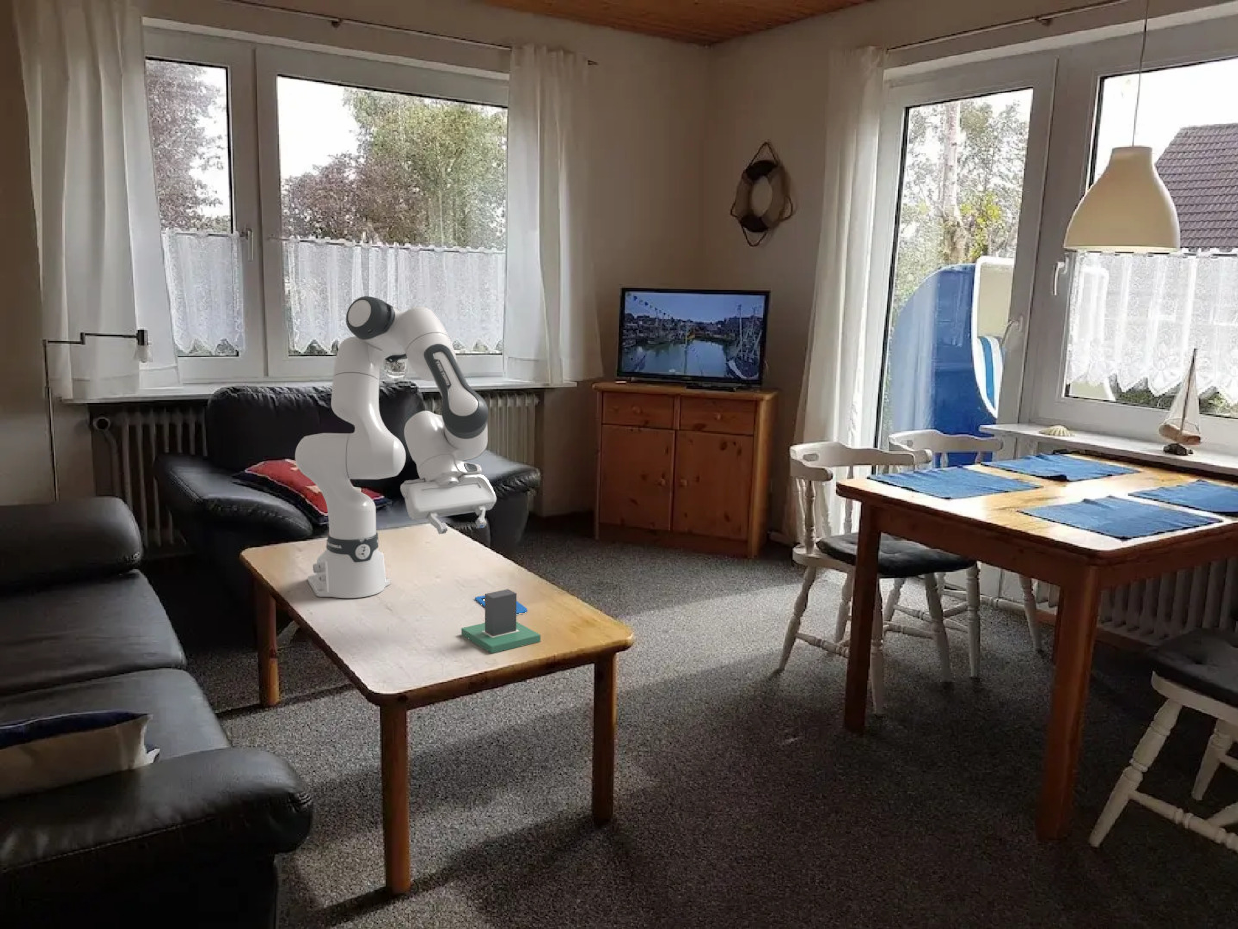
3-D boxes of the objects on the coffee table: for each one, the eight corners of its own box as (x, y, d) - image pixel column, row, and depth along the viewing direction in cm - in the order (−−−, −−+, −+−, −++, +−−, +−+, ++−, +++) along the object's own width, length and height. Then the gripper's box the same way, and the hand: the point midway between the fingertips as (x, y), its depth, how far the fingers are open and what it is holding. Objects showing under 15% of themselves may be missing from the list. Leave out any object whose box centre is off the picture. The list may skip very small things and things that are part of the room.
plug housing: (484, 631, 207) (484, 593, 205) (508, 626, 210) (508, 589, 208) (493, 636, 204) (493, 598, 202) (516, 630, 207) (516, 593, 206)
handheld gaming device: (497, 615, 219) (473, 596, 232) (497, 619, 220) (473, 600, 232) (530, 609, 223) (505, 591, 236) (530, 614, 224) (505, 595, 236)
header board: (461, 634, 209) (461, 615, 208) (508, 623, 216) (508, 605, 215) (491, 653, 199) (491, 633, 198) (540, 641, 206) (540, 622, 205)
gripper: (402, 473, 203) (423, 528, 197) (486, 464, 215) (508, 515, 210) (393, 490, 207) (414, 544, 201) (476, 480, 220) (498, 530, 214)
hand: (463, 529), depth 206 cm, fingers open, 8 cm apart
